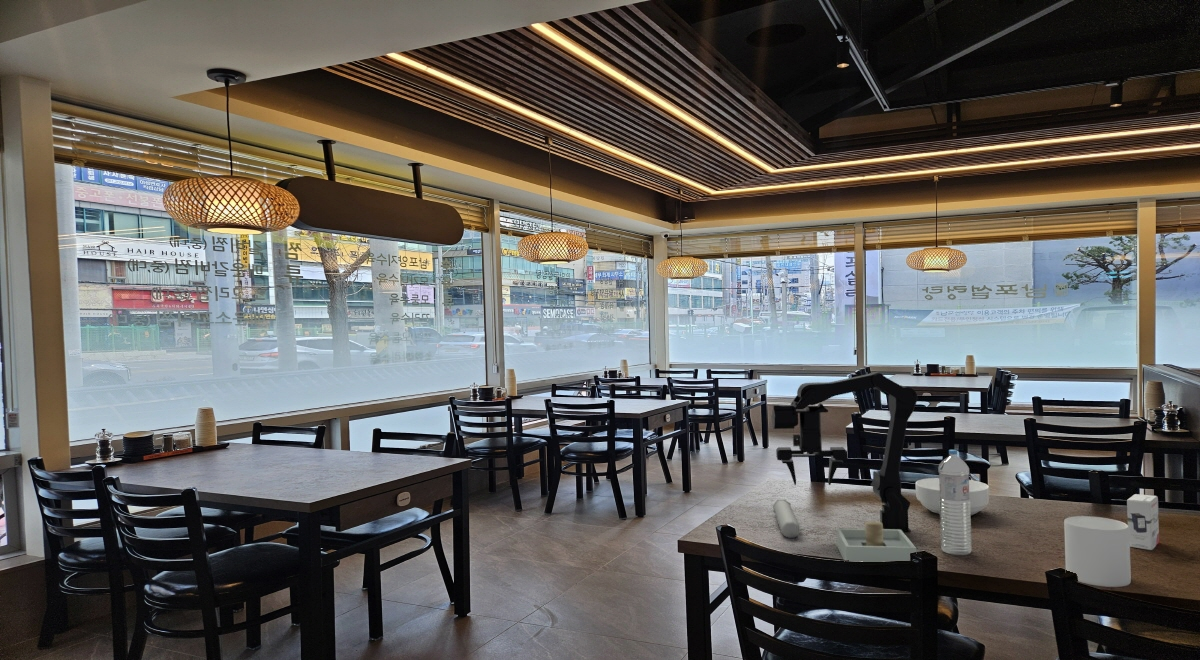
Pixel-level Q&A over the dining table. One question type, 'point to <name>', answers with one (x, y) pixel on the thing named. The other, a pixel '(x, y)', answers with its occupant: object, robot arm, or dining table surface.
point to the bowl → (931, 493)
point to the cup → (1098, 550)
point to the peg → (874, 533)
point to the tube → (786, 518)
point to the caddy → (856, 549)
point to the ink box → (1143, 521)
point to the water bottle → (954, 505)
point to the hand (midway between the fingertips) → (812, 484)
